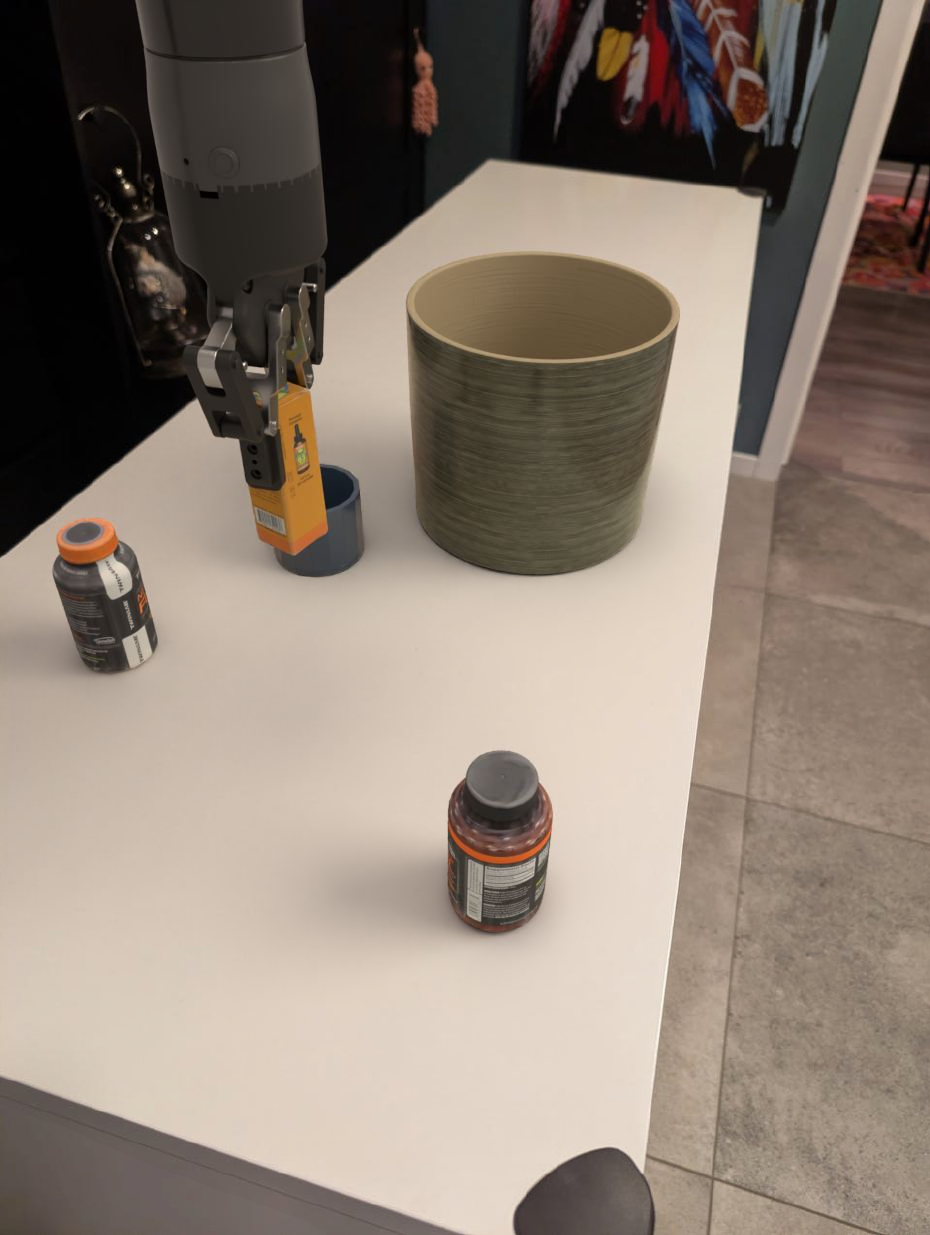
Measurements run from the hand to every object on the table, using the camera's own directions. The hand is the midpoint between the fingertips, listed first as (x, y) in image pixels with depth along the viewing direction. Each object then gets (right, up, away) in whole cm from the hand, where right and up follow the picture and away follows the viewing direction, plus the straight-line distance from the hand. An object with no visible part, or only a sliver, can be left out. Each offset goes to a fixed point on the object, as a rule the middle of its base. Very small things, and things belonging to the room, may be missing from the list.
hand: (281, 464), depth 56 cm
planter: (+17, +1, +35) cm, 39 cm away
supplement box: (0, -4, +4) cm, 5 cm away
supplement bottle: (+13, -26, +3) cm, 29 cm away
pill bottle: (-16, -12, +19) cm, 28 cm away
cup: (-2, -3, +29) cm, 29 cm away
